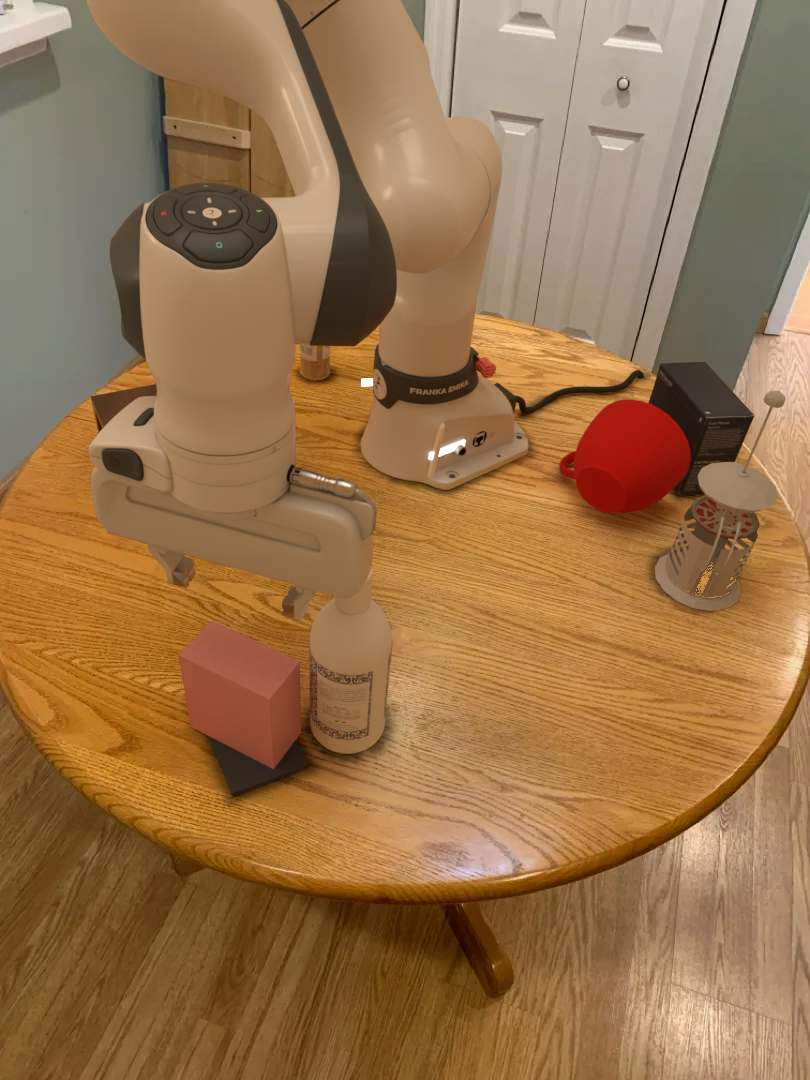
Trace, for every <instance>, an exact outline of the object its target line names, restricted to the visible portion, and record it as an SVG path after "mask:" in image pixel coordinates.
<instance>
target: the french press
mask: <svg viewBox="0 0 810 1080" xmlns="http://www.w3.org/2000/svg"><path fill="white" fill-rule="evenodd" d="M785 402H786V396H785V395H784V394H783V393H782V392H781V391H780V390H770V391H768V392H767V393H765V395H764V397H763V403H764V404H765V405H766V406H768V407H769V408H768V411H767V413H766V416H765V418H764V420H763V423H762V425H761V428H760V430H759V432H758V435H757V436H756V439H755V442H754V444H753V446H752V448H751V450H750V453H749V456H748V458H747V460H746V463H745V464H742V463H740V462H737V461H735V462H720V463H711V464H709V465H707V466H705V467H703V468H702V469H701V471H700V472H699V474H698V480H699V486H700V488H701V490H702V491H703V492H704V493H703V494H704V495H701V496H699V497H697V498H695V499H694V500H693V502H692V504H691V506H690V507H689V508H688V509H687V511H686V512H685V513H684V515H683V517H682V520H681V522H680V527H679V528H678V530H677V535H676V536H675V537H674V539H673V540H674V541H673V544H672V545H671V548H670V552H668V553H666V554H665V555H662V556H661V557H659V558H658V560H657V562H656V564H655V566H654V575H655V580H656V582H657V583H658V584H659V586H660V587H661V589H662V591H664V592H665V594H668V596H669V597H671V598H672V599H673V600H675V601H676V602H678V603H679V604H683V605H685V606H687V607H689V608H692V609H695V610H702V611H709V612H714V611H721V610H727V609H729V608H730V607H732V606H733V605H735V604H736V603H738V602H739V599H740V596H741V594H742V588H741V583H740V579H739V578H740V576H741V574H742V571H743V569H744V567H745V565H746V563H747V560H748V559H749V557H750V554H751V552H752V550H753V548H754V546H755V545H756V542H757V539H758V536H759V534H758V529H759V527H760V521H759V517H758V515H757V513H755V512H763V511H765V510H768V509H769V508H771V507H772V506H774V505H776V502H777V500H778V498H779V494H778V490H777V487H776V485H775V484H774V483H773V482H772V481H771V479H770V478H769V477H768V476H766V475H765V474H764V473H762V472H761V471H760V470H758V469H756V468H754V467H750V466H749V464H750V461H751V460H752V457H753V455H754V452H755V450H756V447H757V446H758V443H759V441H760V438H761V436H762V434H763V432H764V430H765V427H766V424H767V422H768V420H769V418H770V415H771V413H772V410H773V408H775V409H781V408H782V407H784V405H785ZM692 520H694V521H695V522H691V523H688V524H686V522H688V521H692ZM692 528H694V529H693V530H690V529H692ZM681 532H682V533H681ZM683 538H685V539H683ZM743 539H747V540H748V541H750V542H751V543H752V544H751V545H749V544H748V543H746V542H745V541H743ZM731 540H733V541H731ZM736 543H737V544H738V545H739V546H740V547H742V548H738V547H737V546H736ZM686 545H687V546H686ZM726 545H727V546H728V547H729V548H730V549H727V548H726ZM680 546H681V547H680ZM741 559H742V560H741ZM711 562H712V563H713V564H712V563H711ZM711 564H712V566H713V565H714V566H713V567H712V566H711V567H712V569H713V570H712V569H711V570H712V573H711V575H710V577H709V580H708V582H707V584H706V586H705V585H704V586H705V589H704V591H703V593H701V596H697V595H700V593H697V592H699V590H698V588H697V586H698V584H700V583H699V582H701V581H700V580H701V577H702V575H703V573H704V572H705V570H706V569H707V568H708V569H709V568H711V567H710V566H709V565H711ZM708 566H709V567H708ZM708 569H707V570H708ZM666 570H667V571H666ZM707 570H706V571H707ZM711 570H710V569H709V570H708V572H709V571H711ZM667 572H668V573H667ZM708 572H707V573H708ZM704 575H705V574H704ZM704 575H703V576H704ZM734 575H735V577H734ZM731 577H734V578H733V579H732V580H730V579H731ZM704 578H705V577H704ZM671 579H672V580H673V581H672V580H671ZM735 579H736V581H735ZM733 581H735V582H734V583H733V584H732V585H731V586H729V587H728V588H727V586H728V585H729V584H731V583H732V582H733ZM677 585H678V586H677ZM680 587H681V588H680ZM700 587H701V586H700ZM726 588H727V589H726ZM696 589H697V591H696ZM699 589H700V588H699ZM684 590H686V591H684ZM687 591H689V592H687ZM695 592H696V593H695ZM700 592H701V590H700ZM728 592H729V593H728ZM692 593H693V594H692ZM727 593H728V594H727ZM695 594H697V595H695ZM725 594H726V595H725ZM723 595H724V596H723ZM702 596H704V597H705V598H704V597H702ZM714 596H722V597H715V598H708V597H714ZM706 597H707V598H706Z"/></svg>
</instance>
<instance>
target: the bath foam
mask: <svg viewBox="0 0 810 1080" xmlns="http://www.w3.org/2000/svg"><path fill="white" fill-rule="evenodd" d="M373 574H374V573H373V568H372V567H371V570H370V572H369V575H368V577H367V579H366V581H365V583H364V585H363V587H362V589H361V590H360V591H359V592H358V593H357V594H355V595H354V596H352V597H350V598H348V599H343V598H339V597H336V596H333V597H332V599H331V600H330V601H328V602H327V603H326V604H325V605H324V606H323V607H322V608H321V609H320V611H318V613H317V615H316V617H315V619H314V620H313V623H312V626H311V629H310V634H309V638H308V650H309V651H308V660H309V661H308V665H309V667H308V672H309V673H308V676H309V677H308V678H309V679H308V681H309V725H310V730H311V733H312V735H313V737H314V738H315V740H316V741H317V742H318V743H319V744H320V745H321V746H323V747H324V748H326V749H327V750H329V751H331V752H334V753H336V754H337V753H338V754H345V755H351V754H357V753H361V752H364V751H366V750H368V749H369V748H371V747H372V746H374V745H375V744H376V743H377V742H378V741H379V740H380V738H381V737H382V735H383V732H384V730H385V727H386V717H387V708H388V697H389V688H390V687H389V686H390V677H391V676H390V674H391V666H392V665H391V664H392V653H393V636H392V630H391V626H390V623H389V620H388V618H387V616H386V614H385V612H384V611H383V610H382V609H381V607H380V606H379V605H378V604H377V603H376V602H375V601H374V600H373V599H372V591H373Z"/></svg>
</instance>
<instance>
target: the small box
mask: <svg viewBox="0 0 810 1080" xmlns="http://www.w3.org/2000/svg"><path fill="white" fill-rule="evenodd" d="M648 403H649V404H652V405H654V406H656V407H657V408H659V409H661V410H662V411H664V412H665V413H666V414H668V415H669V416H670V417H671V418H672V419H673V420H674V421H675V422H676V423H677V424H678V426H679V427H680V428H681V430H682V431H683V433H684V435H685V437H686V439H687V441H688V444H689V448H690V456H691V460H690V466H689V469H688V471H687V473H686V475H685V476H684V478H683V479H682V480H681V481H680V482H679V483H678V484H677V486H676V487H675V488H674V489H673V490H672V491H674V493H675V494H676V495H677V496H687V495H689V496H690V495H699V494H704V492H703V491H702V490H701V488H700V486H699V480H698V474H699V472H700V471H701V469H702V468H703V467H705V466H707V465H709V464H711V463H720V462H737V461H736V460H737V458H738V456H739V453H740V451H741V449H742V446H743V445H744V442H745V440H746V437H747V434H748V432H749V431H750V427H751V425H752V422H753V420H754V418H755V414H754V413H753V412H752V410H750V408H749V407H748V406H747V405H746V404H745V403H744V402H743V401H742V400H741V398H739V396H737V394H735V392H734V391H733V390H732V389H731V388H730V387H729V386H728V385H727V384H726V383H725V382H724V380H723V379H722V378H721V377H720V376H719V375H718V374H717V373H716V372H715V371H714V369H713V368H712V367H711V366H710V365H709V364H708V363H707V362H706V361H691V362H690V361H686V362H685V361H684V362H664V363H663V362H662V363H660V364H659V367H658V371H657V374H656V378H655V381H654V384H653V387H652V390H651V393H650V396H649V400H648Z"/></svg>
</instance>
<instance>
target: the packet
mask: <svg viewBox="0 0 810 1080" xmlns="http://www.w3.org/2000/svg"><path fill="white" fill-rule="evenodd" d="M178 660H179V666H180V672H181V679H182V684H183V691H184V697H185V703H186V708H187V715H188V721H189V726H190V727H191V728H193V729H195V730H197V731H199V733H202V734H204V735H206V736H207V737H208V736H210V737H212V738H214V739H216V740H218V741H220V742H222V743H223V744H225V745H227V746H229V747H231V748H233V749H235V750H237V751H239V752H241V753H243V754H245V755H247V756H249V757H251V758H253V759H255V760H256V761H258V762H260V763H262V764H264V765H266V766H268V767H270V768H272V769H274V768H275V767H276V766H277V764H278V763H279V762H280V760H281V759H282V758H283V756H284V755H285V754H286V752H287V751H288V750H289V748H290V747H291V746H292V744H293V743H294V742H295V740H296V739H297V740H298V737H299V736H300V735H301V734H302V702H301V701H302V693H301V690H302V689H301V661H300V660H298V659H296V658H293V657H291V656H289V655H288V654H286V653H283V652H281V651H278V650H276V649H275V648H272V647H271V646H268V645H266V644H263V643H261V642H259V641H257V640H255V639H253V638H250V637H248V636H246V635H244V634H242V633H240V632H237V631H235V630H234V629H231V628H229V627H226V626H224V625H222V624H220V623H218V622H216V621H214V620H210V621H209V622H208V623H207V625H205V626H204V627H203V628H202V630H200V632H199V633H197V635H195V637H194V638H193V639H192V640H191V641H190V642H189V643H188V644H187V645H186V646H185V647H184V648H183V649H182V650H181V652H180V653H178Z"/></svg>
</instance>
